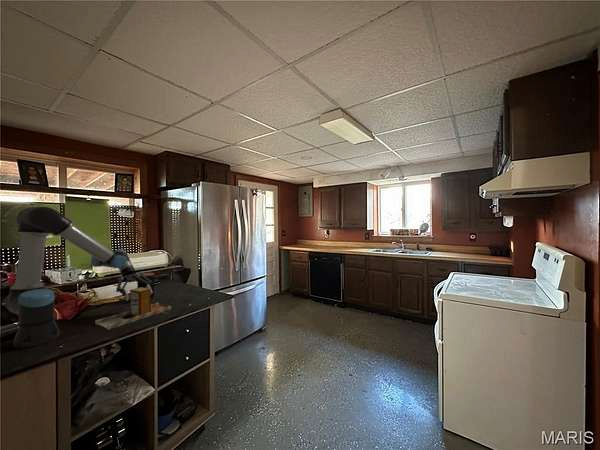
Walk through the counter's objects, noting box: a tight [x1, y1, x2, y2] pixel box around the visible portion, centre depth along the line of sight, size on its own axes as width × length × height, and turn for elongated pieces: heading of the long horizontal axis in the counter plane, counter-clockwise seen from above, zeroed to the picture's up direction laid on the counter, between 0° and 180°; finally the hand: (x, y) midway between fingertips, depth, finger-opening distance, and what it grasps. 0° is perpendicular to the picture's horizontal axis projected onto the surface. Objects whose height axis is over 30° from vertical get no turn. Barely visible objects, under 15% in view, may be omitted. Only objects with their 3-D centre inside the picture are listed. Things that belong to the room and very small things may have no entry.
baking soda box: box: [129, 287, 152, 317], centre depth 149 cm, size 10×6×16 cm
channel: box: [94, 302, 172, 331], centre depth 147 cm, size 35×14×2 cm, turn 151°
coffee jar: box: [136, 272, 155, 299], centre depth 182 cm, size 11×11×18 cm
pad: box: [97, 317, 126, 329], centre depth 137 cm, size 11×11×1 cm
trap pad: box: [151, 304, 166, 312], centre depth 158 cm, size 9×11×1 cm
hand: (140, 296), depth 152 cm, fingers open, 13 cm apart
